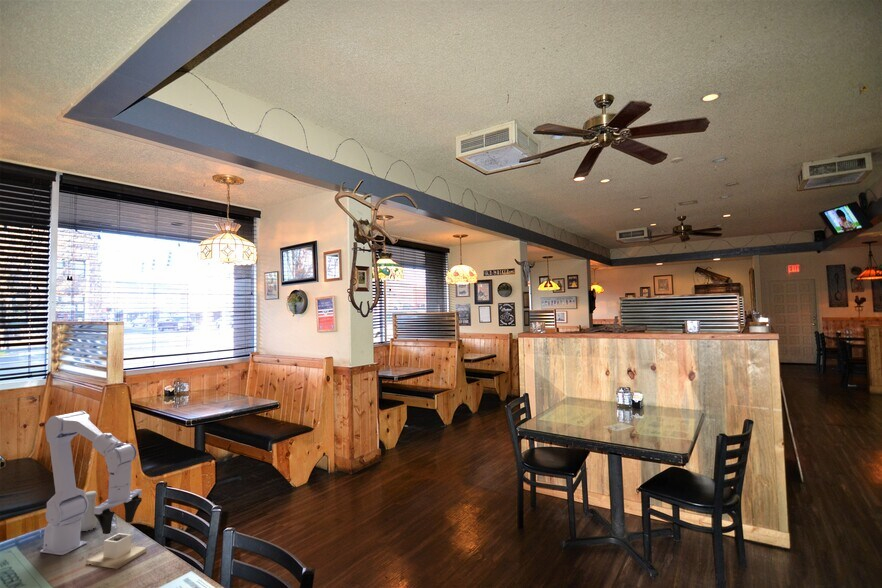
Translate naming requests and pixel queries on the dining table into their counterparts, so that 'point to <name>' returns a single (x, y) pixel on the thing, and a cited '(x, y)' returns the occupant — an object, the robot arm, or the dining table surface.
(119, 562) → the roll holder
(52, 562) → the dining table surface
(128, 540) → the hollow square tube
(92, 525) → the salt shaker
